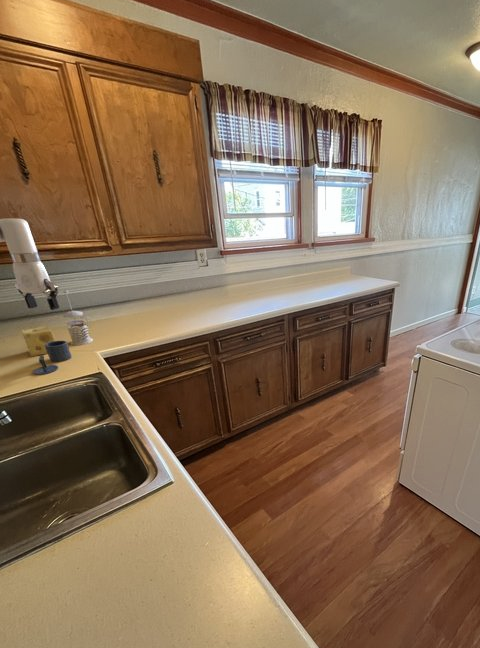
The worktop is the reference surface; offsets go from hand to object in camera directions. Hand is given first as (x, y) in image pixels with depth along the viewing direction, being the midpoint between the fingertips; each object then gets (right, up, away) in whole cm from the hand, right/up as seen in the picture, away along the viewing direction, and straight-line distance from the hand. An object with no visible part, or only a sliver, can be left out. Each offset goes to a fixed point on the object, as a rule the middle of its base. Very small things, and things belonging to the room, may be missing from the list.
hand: (44, 308), depth 119 cm
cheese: (-24, -13, +31) cm, 41 cm away
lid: (-7, -22, +10) cm, 26 cm away
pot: (-9, -17, +21) cm, 29 cm away
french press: (-14, -7, +43) cm, 46 cm away
